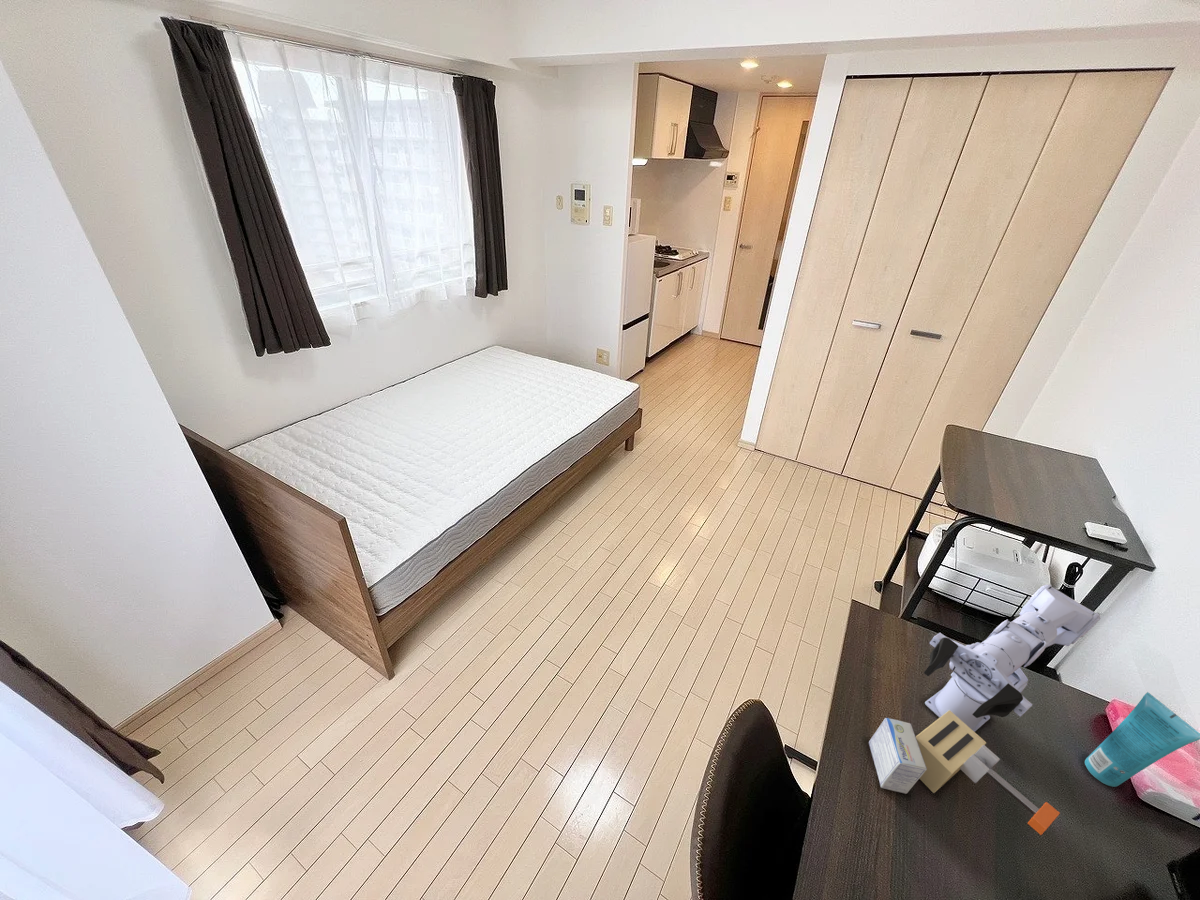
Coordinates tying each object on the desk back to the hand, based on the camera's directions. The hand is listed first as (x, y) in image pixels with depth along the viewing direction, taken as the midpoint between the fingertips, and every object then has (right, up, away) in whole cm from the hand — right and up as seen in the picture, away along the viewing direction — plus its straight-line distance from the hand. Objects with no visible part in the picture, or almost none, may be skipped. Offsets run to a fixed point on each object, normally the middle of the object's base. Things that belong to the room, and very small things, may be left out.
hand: (952, 690), depth 76 cm
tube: (+36, -21, +12) cm, 44 cm away
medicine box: (-4, -19, +10) cm, 22 cm away
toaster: (+6, -19, +11) cm, 23 cm away
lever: (+10, -17, +1) cm, 20 cm away
